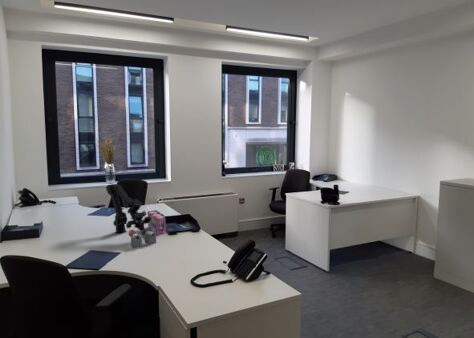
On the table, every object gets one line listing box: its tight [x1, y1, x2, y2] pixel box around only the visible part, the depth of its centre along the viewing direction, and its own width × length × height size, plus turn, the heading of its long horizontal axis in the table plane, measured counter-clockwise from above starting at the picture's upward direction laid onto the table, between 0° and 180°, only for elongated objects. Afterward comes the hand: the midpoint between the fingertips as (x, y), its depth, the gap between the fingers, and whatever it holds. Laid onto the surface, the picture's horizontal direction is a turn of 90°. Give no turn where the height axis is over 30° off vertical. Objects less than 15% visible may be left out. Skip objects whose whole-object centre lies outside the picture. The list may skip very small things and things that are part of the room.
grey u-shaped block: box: [143, 230, 157, 246], centre depth 261 cm, size 6×6×8 cm
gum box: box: [147, 209, 167, 235], centre depth 291 cm, size 24×8×14 cm, turn 30°
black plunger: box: [141, 227, 153, 236], centre depth 262 cm, size 9×5×5 cm, turn 49°
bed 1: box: [130, 234, 143, 249], centre depth 254 cm, size 6×6×8 cm
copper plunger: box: [127, 229, 138, 238], centre depth 258 cm, size 9×5×5 cm, turn 34°
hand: (143, 231), depth 265 cm, fingers closed
